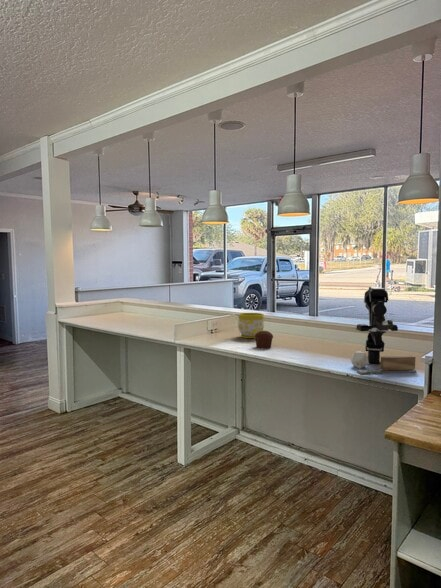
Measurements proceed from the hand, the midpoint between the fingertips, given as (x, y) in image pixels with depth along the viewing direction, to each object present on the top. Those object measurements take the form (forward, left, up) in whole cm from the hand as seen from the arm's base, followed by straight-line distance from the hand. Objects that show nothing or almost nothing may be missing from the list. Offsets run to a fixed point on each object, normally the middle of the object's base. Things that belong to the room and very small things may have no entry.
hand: (376, 344), depth 203 cm
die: (-2, -8, -12) cm, 14 cm away
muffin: (-58, -42, -12) cm, 72 cm away
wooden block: (+9, +6, -10) cm, 15 cm away
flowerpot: (-93, -42, -12) cm, 102 cm away
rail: (+9, 0, -11) cm, 15 cm away
